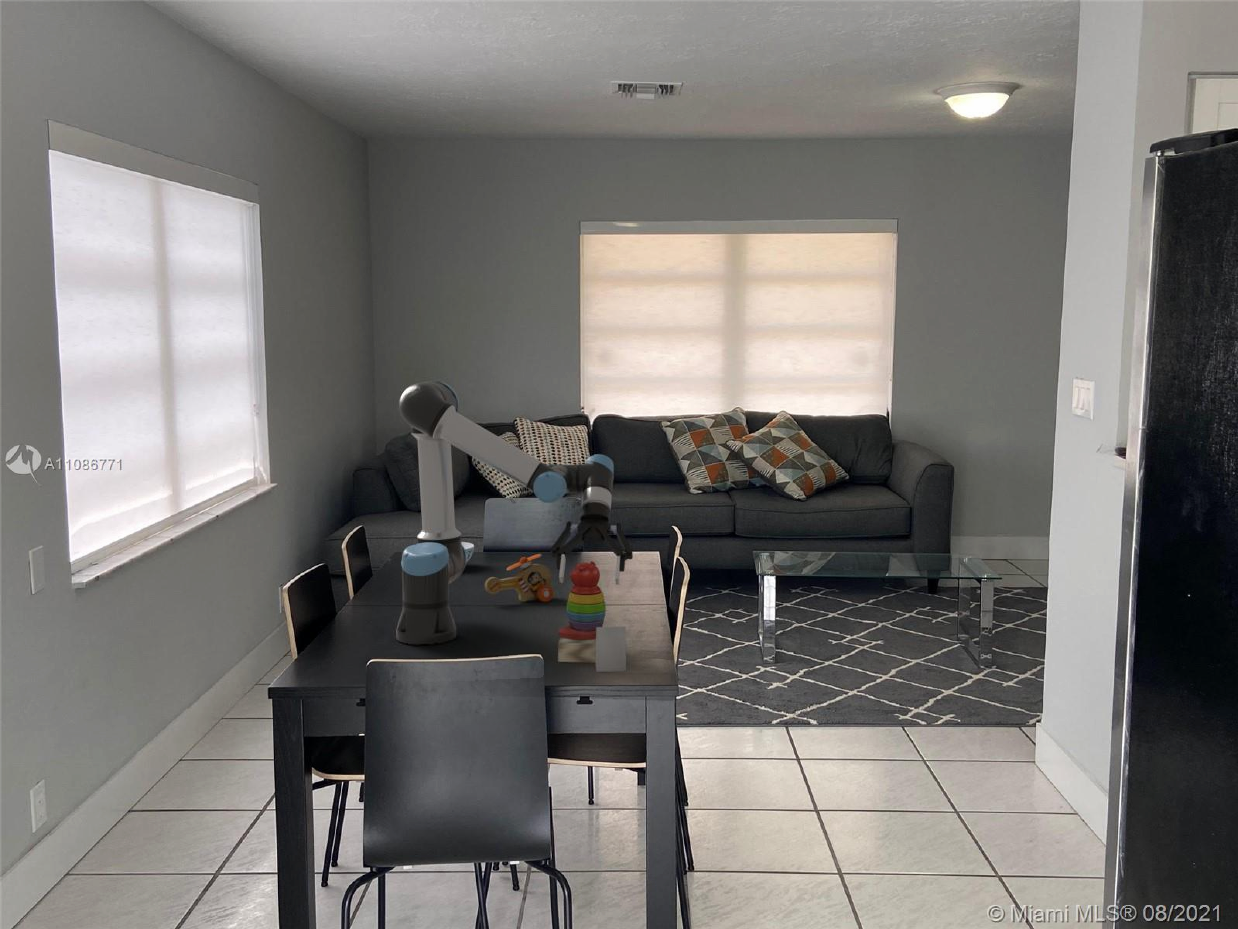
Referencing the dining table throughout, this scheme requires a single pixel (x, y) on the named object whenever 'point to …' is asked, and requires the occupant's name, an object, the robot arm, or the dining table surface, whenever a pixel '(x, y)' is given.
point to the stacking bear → (584, 604)
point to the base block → (576, 650)
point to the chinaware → (468, 549)
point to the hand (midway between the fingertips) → (589, 581)
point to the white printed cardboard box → (610, 649)
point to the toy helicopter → (525, 581)
